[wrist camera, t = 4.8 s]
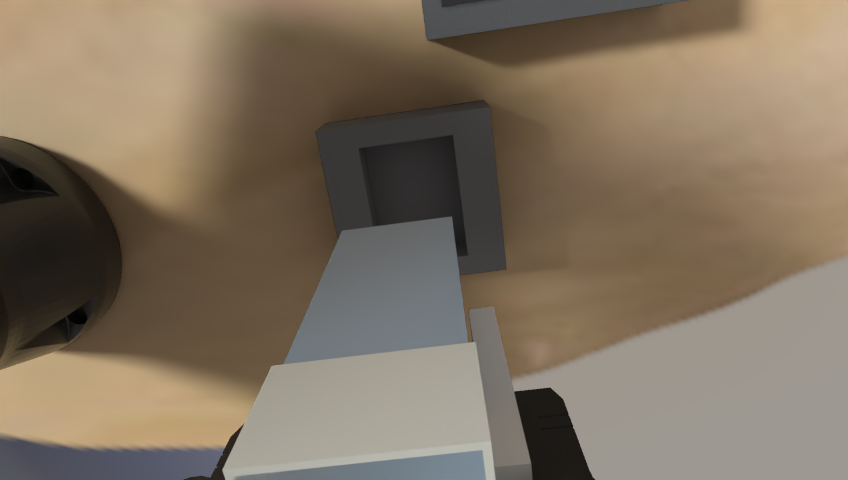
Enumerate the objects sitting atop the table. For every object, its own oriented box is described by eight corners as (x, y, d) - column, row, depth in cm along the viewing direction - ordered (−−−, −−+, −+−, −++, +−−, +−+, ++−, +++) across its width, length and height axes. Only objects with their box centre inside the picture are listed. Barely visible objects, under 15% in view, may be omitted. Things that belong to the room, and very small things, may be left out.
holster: (355, 268, 39) (348, 289, 35) (326, 123, 35) (315, 132, 32) (499, 249, 38) (506, 269, 35) (484, 100, 35) (489, 107, 31)
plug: (367, 375, 22) (305, 721, 11) (337, 227, 20) (222, 469, 9) (474, 362, 22) (522, 703, 11) (455, 212, 20) (490, 441, 9)
